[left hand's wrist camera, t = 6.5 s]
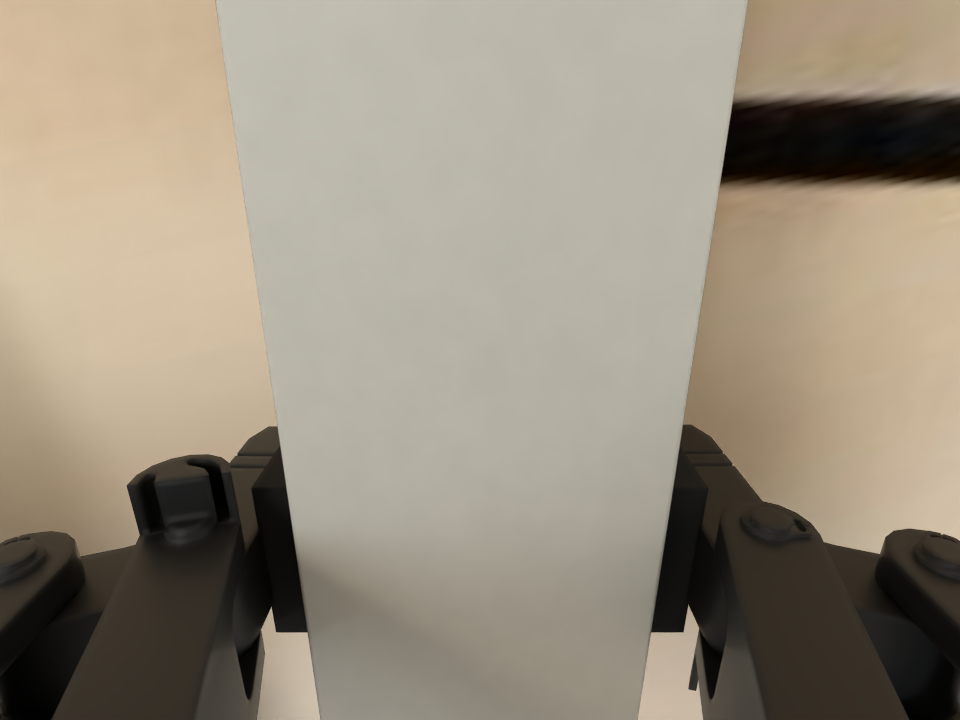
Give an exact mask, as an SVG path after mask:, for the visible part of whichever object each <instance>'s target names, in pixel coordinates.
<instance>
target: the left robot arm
mask: <svg viewBox="0 0 960 720" xmlns="http://www.w3.org/2000/svg"><path fill="white" fill-rule="evenodd" d="M127 489H128V492H129V496H130V500H131V503H132V507H133V511H134V515H135V518H136V522H137V526H138V529H139V533H140V537H139V539H138V541H137V543H136V545H133V546H129V547H126V548H121V549H116V550H111V551H106V552H101V553H96V554H91V555H86V556H81V557H80V555H79V551H78V548H77V545H76V542H75V540H74V539H73V538H72V537H70V536H69V535H68V534H67V533H60V532H53V531H49V532H41V533H32V534H26V535H22V536H20V537H18V538H17V537H15V538H12V539H9V540H6V541H4V542H2V543H1V544H0V720H257V714H258V706H259V698H260V689H261V681H262V673H263V665H264V656H265V651H264V644H263V638H262V633H261V628H262V626H263V624H264V622H265V619H266V617H267V615H268V613H269V611H270V608H271V606H272V611H273V617H274V622H275V628H276V632H308V631H307V624H306V617H305V610H304V604H303V597H302V590H301V583H300V576H299V569H298V562H297V556H296V549H295V542H294V535H293V528H292V521H291V515H290V508H289V501H288V494H287V487H286V480H285V474H284V467H283V460H282V453H281V446H280V439H279V433H278V427H267V428H266V429H264V430H262V431H261V432H259V433H258V434H256V435H254V436H253V437H251V438H250V439H248V441H247V442H246V443H245V445H244V446H243V447H242V448H241V450H240V451H239V452H238V455H237V456H235V457H234V458H233V460H232V461H231V462H230V463H228V462H227V461H226V460H224V459H223V458H222V457H217V456H213V455H188V456H183V457H178V458H173V459H170V460H167V461H164V462H161V463H159V464H156V465H153V466H151V467H150V468H148V469H146V470H145V471H143V472H141V473H140V474H138V475H136V476H135V477H134V479H133V480H132V481H131V482H130V483H129V484H128V485H127ZM688 604H689V606H690V609H691V611H692V613H693V615H694V617H695V620H696V622H697V624H698V626H699V633H698V638H697V643H696V649H695V654H694V659H693V665H692V670H691V675H690V682H689V689H690V690H694V691H696V688H697V683H698V680H699V688H700V696H701V705H702V713H703V720H960V541H959V540H958V539H956V538H954V537H951V536H948V535H945V534H943V535H941V533H937V532H932V531H925V530H916V529H903V530H896V531H893V532H892V533H890V534H889V535H888V536H887V537H885V541H884V544H883V547H882V550H881V553H880V554H876V553H871V552H866V551H861V550H856V549H851V548H846V547H841V546H836V545H832V544H829V543H825V542H823V540H822V538H821V536H820V534H819V533H818V531H817V530H816V529H815V528H814V526H813V525H812V524H811V523H810V522H809V521H807V520H806V519H804V518H803V517H801V516H800V515H799V514H797V513H795V512H793V511H791V510H789V509H786V508H784V507H782V506H779V505H776V504H772V503H767V502H763V501H762V500H761V499H760V498H759V496H758V495H757V494H756V493H755V491H754V490H753V489H752V488H751V486H750V485H749V484H748V483H747V481H746V480H745V479H744V478H743V476H742V475H741V474H740V473H739V471H738V470H737V469H736V468H735V466H732V463H731V461H730V460H729V459H728V458H727V456H726V455H725V454H723V453H722V450H721V449H720V448H719V446H718V445H717V444H716V443H715V441H714V440H713V439H712V438H711V437H710V436H709V435H707V434H705V433H704V432H702V431H700V430H699V429H697V428H696V427H694V426H692V425H683V427H682V434H681V440H680V447H679V453H678V460H677V466H676V473H675V479H674V486H673V492H672V499H671V505H670V512H669V518H668V525H667V531H666V538H665V544H664V551H663V557H662V564H661V570H660V577H659V583H658V590H657V596H656V603H655V609H654V616H653V622H652V629H651V632H684V626H685V620H686V615H687V609H688Z"/></svg>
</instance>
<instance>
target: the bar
mask: <svg viewBox="0 0 960 720" xmlns="http://www.w3.org/2000/svg"><path fill="white" fill-rule="evenodd" d="M215 2H216V9H217V16H218V23H219V29H220V36H221V43H222V50H223V57H224V64H225V70H226V77H227V84H228V91H229V98H230V105H231V111H232V118H233V125H234V132H235V139H236V146H237V152H238V159H239V166H240V173H241V180H242V187H243V193H244V200H245V207H246V214H247V221H248V228H249V234H250V241H251V248H252V255H253V262H254V269H255V275H256V282H257V289H258V296H259V303H260V310H261V316H262V323H263V330H264V337H265V344H266V351H267V357H268V364H269V371H270V378H271V385H272V392H273V398H274V405H275V412H276V419H277V426H278V433H279V439H280V446H281V453H282V460H283V467H284V474H285V480H286V487H287V494H288V501H289V508H290V515H291V521H292V528H293V535H294V542H295V549H296V556H297V562H298V569H299V576H300V583H301V590H302V597H303V604H304V610H305V617H306V624H307V631H308V638H309V645H310V651H311V658H312V665H313V672H314V679H315V686H316V692H317V699H318V706H319V713H320V720H638V713H639V707H640V700H641V694H642V687H643V681H644V674H645V668H646V661H647V655H648V648H649V642H650V635H651V629H652V622H653V616H654V609H655V603H656V596H657V590H658V583H659V577H660V570H661V564H662V557H663V551H664V544H665V538H666V531H667V525H668V518H669V512H670V505H671V499H672V492H673V486H674V479H675V473H676V466H677V460H678V453H679V447H680V440H681V434H682V427H683V421H684V414H685V408H686V401H687V395H688V388H689V382H690V375H691V369H692V362H693V356H694V349H695V343H696V336H697V330H698V323H699V317H700V310H701V304H702V297H703V291H704V284H705V278H706V271H707V265H708V258H709V252H710V245H711V239H712V232H713V226H714V219H715V213H716V206H717V200H718V193H719V187H720V180H721V174H722V167H723V161H724V154H725V147H726V141H727V134H728V128H729V121H730V115H731V108H732V102H733V95H734V89H735V82H736V76H737V69H738V63H739V56H740V50H741V43H742V37H743V30H744V24H745V17H746V11H747V4H748V0H215Z"/></svg>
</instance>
